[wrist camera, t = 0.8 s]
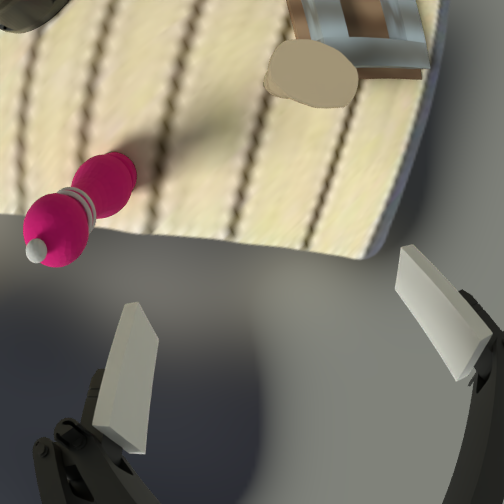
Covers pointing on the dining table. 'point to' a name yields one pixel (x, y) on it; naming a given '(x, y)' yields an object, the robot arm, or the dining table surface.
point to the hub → (367, 34)
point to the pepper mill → (77, 209)
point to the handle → (311, 74)
